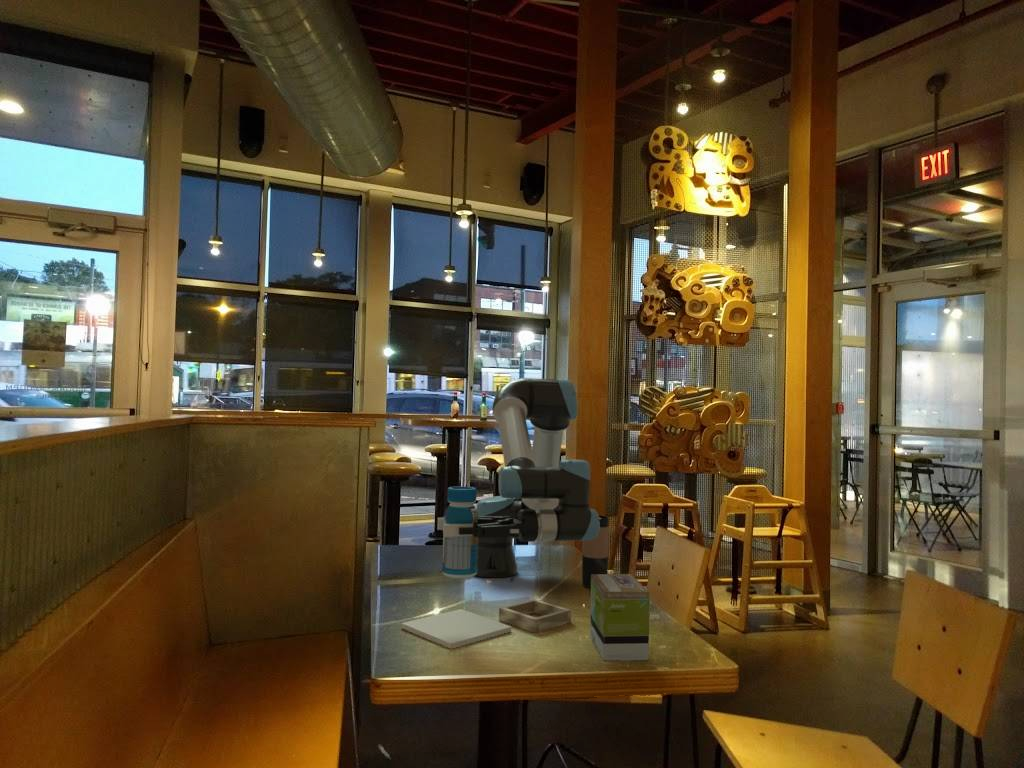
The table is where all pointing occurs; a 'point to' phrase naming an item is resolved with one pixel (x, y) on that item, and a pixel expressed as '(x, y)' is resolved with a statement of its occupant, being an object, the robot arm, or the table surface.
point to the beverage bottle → (460, 549)
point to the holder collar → (519, 617)
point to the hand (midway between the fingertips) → (440, 527)
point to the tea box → (619, 617)
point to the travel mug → (596, 553)
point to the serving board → (456, 628)
